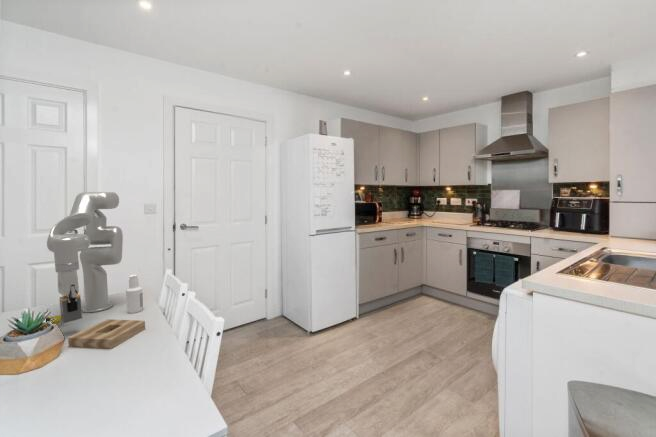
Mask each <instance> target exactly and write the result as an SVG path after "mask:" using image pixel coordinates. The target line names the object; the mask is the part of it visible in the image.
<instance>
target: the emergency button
mask: <svg viewBox="0 0 656 437" xmlns="http://www.w3.org/2000/svg"><path fill="white" fill-rule="evenodd" d="M46 317H47V318H46V322H47V321H50V320H51V319H54V318H57V319H56V320H54V321H52V322H51V323H52V324H56V325H57V326H58V328H62V327H61V326H63V327H65V326H68V323H69V322H67V323H63V322H62V321H61V314H60V315H53V316H49V317H48V316H46Z"/></svg>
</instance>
